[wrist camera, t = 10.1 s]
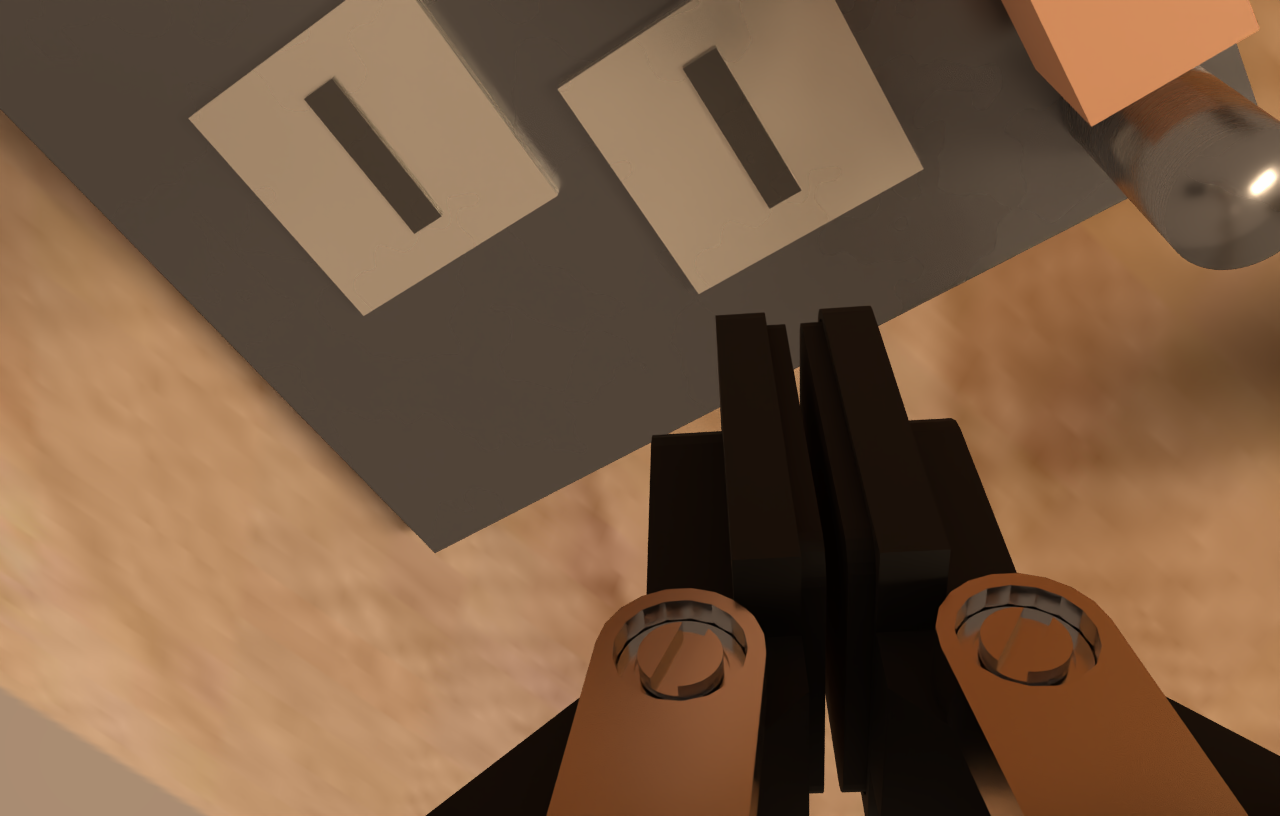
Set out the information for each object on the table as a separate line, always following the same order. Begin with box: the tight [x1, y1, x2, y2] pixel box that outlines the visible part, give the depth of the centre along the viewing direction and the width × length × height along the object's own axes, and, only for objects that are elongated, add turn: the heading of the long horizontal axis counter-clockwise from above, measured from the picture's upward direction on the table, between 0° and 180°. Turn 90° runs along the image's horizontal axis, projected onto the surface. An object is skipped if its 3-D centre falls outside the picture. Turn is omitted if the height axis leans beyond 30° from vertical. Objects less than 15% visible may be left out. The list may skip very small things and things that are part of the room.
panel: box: [0, 0, 1280, 553], centre depth 18 cm, size 16×20×6 cm
